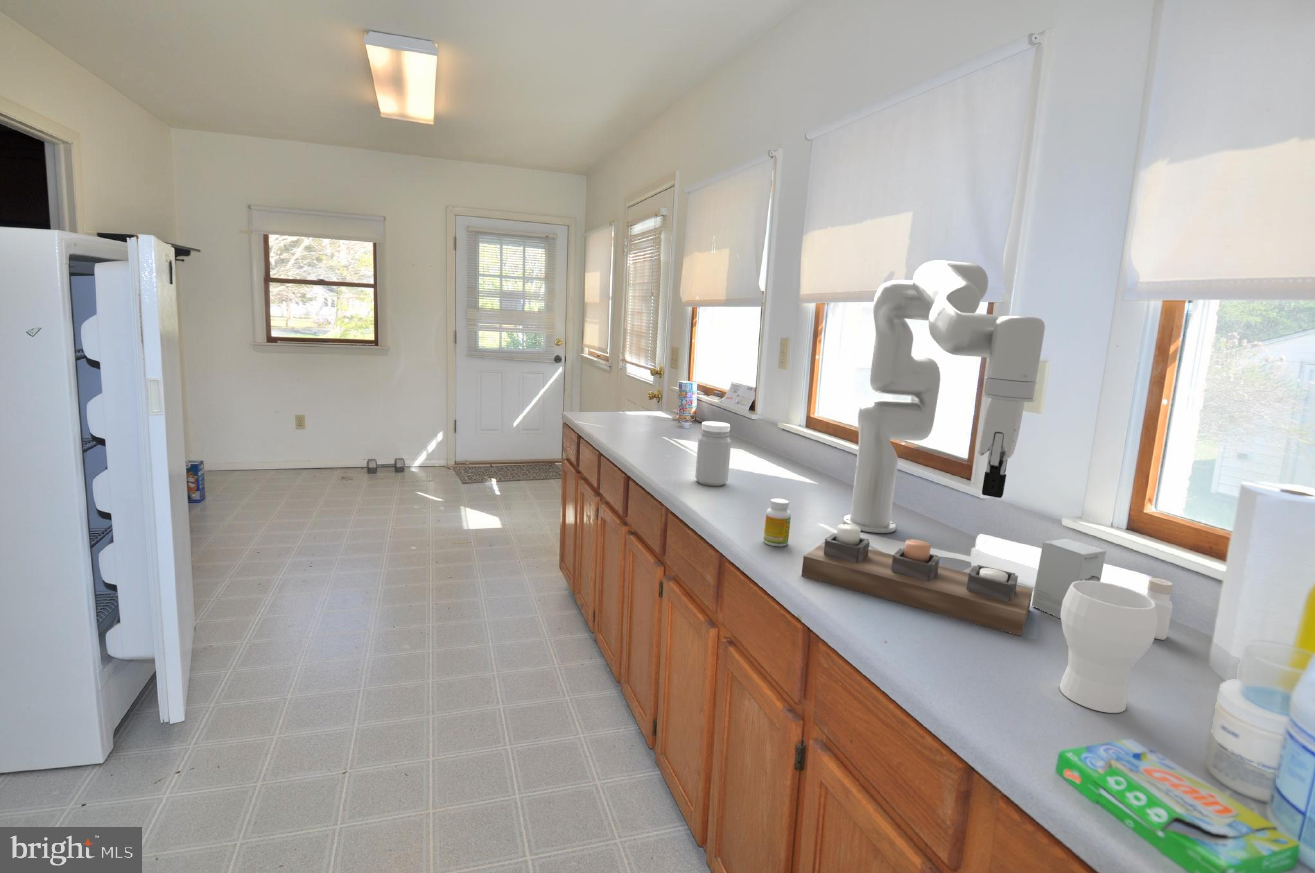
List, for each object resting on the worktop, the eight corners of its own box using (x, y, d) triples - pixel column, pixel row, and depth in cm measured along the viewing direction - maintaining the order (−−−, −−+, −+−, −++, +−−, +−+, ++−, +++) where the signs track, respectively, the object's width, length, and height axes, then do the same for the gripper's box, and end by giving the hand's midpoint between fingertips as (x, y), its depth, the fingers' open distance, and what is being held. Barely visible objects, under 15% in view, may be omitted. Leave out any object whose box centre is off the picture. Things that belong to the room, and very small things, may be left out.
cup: (1124, 687, 95) (1144, 587, 93) (1151, 728, 85) (1174, 617, 83) (1040, 670, 99) (1057, 573, 96) (1057, 707, 89) (1076, 600, 86)
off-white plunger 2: (979, 581, 121) (982, 566, 121) (1006, 588, 119) (1009, 572, 118) (975, 589, 117) (978, 572, 117) (1003, 596, 115) (1006, 579, 115)
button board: (826, 557, 142) (829, 525, 141) (1029, 609, 121) (1035, 572, 120) (801, 575, 130) (805, 541, 129) (1021, 636, 110) (1028, 595, 109)
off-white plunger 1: (839, 537, 135) (841, 522, 134) (861, 542, 132) (863, 527, 132) (832, 542, 131) (834, 527, 130) (854, 547, 129) (856, 532, 128)
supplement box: (1070, 623, 116) (1083, 554, 114) (1029, 606, 123) (1041, 540, 121) (1095, 617, 120) (1108, 550, 118) (1054, 601, 126) (1066, 536, 124)
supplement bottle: (787, 548, 146) (792, 505, 144) (762, 545, 147) (767, 502, 145) (788, 540, 151) (792, 499, 149) (763, 537, 152) (768, 496, 150)
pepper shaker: (1166, 642, 112) (1177, 588, 110) (1136, 634, 114) (1147, 581, 112) (1163, 633, 115) (1174, 580, 113) (1135, 626, 117) (1145, 574, 115)
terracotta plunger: (906, 552, 128) (908, 537, 127) (931, 558, 125) (933, 543, 125) (900, 558, 124) (903, 543, 124) (925, 564, 122) (928, 549, 121)
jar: (693, 484, 198) (697, 424, 195) (696, 477, 207) (701, 419, 204) (726, 488, 196) (731, 427, 193) (728, 480, 206) (733, 422, 203)
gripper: (990, 386, 122) (974, 484, 125) (978, 390, 109) (961, 499, 112) (1037, 390, 118) (1020, 492, 121) (1030, 395, 105) (1011, 508, 108)
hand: (992, 495), depth 117 cm, fingers closed
